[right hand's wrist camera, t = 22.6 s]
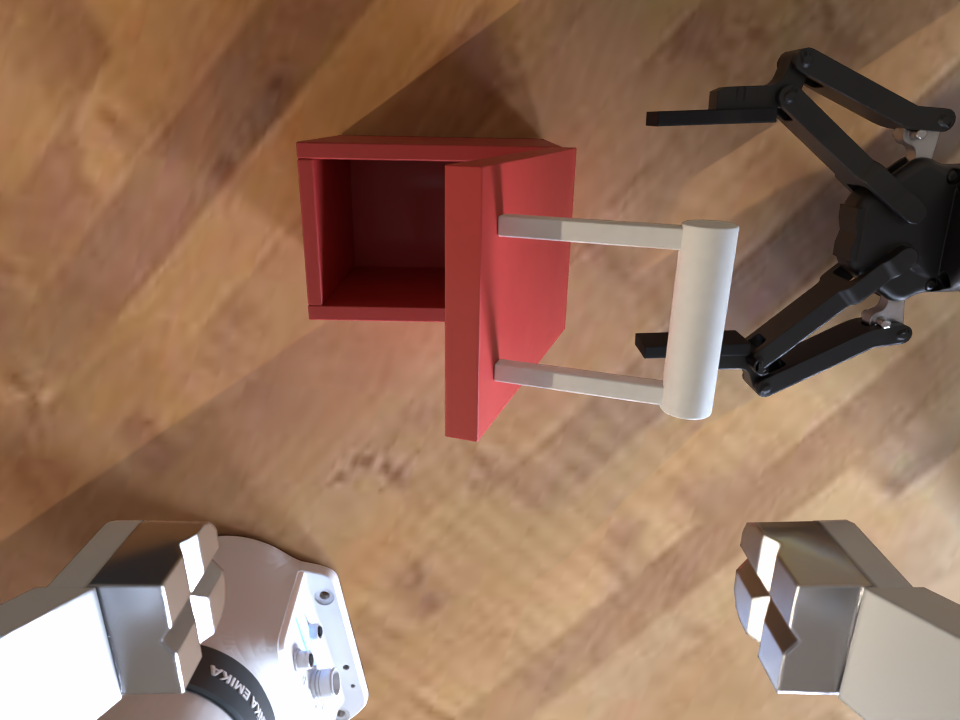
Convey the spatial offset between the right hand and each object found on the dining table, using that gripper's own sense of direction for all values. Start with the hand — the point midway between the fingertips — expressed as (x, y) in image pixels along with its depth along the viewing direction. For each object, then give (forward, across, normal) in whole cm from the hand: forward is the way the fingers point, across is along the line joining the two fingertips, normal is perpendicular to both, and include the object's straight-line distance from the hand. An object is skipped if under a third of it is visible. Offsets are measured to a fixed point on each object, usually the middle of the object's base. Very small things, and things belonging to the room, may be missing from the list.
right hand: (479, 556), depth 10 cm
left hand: (+32, -10, +1) cm, 33 cm away
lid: (+20, -1, 0) cm, 20 cm away
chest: (+39, +3, 0) cm, 39 cm away
